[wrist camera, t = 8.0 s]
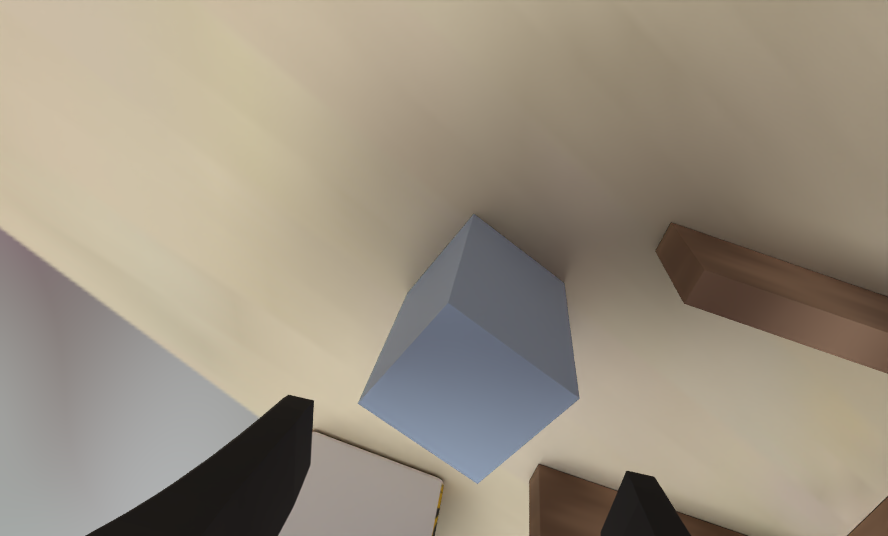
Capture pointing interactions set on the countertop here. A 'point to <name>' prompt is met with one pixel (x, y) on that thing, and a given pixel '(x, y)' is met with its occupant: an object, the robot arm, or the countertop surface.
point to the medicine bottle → (362, 495)
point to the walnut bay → (751, 303)
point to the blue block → (476, 354)
